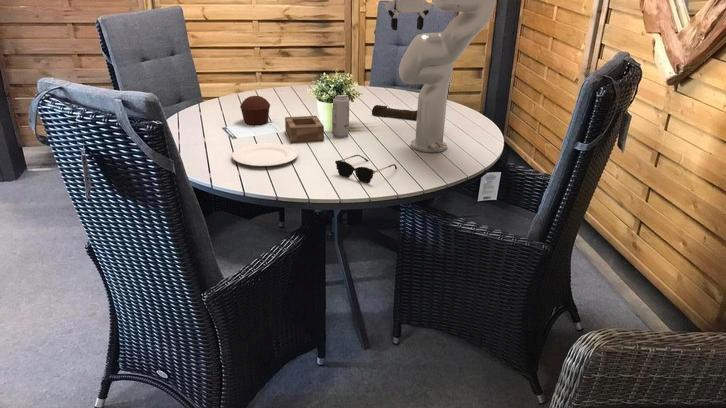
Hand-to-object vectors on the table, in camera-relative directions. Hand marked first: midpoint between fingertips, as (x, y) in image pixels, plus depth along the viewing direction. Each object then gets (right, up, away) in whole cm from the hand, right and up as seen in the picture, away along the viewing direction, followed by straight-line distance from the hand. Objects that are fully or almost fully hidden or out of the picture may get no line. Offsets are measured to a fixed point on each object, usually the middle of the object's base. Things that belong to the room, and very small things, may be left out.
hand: (407, 29), depth 192 cm
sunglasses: (-14, -53, -27) cm, 61 cm away
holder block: (-37, -38, +2) cm, 53 cm away
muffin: (-57, -31, +16) cm, 66 cm away
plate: (-47, -48, -19) cm, 70 cm away
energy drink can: (-24, -37, +4) cm, 44 cm away
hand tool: (-3, -27, +27) cm, 39 cm away
